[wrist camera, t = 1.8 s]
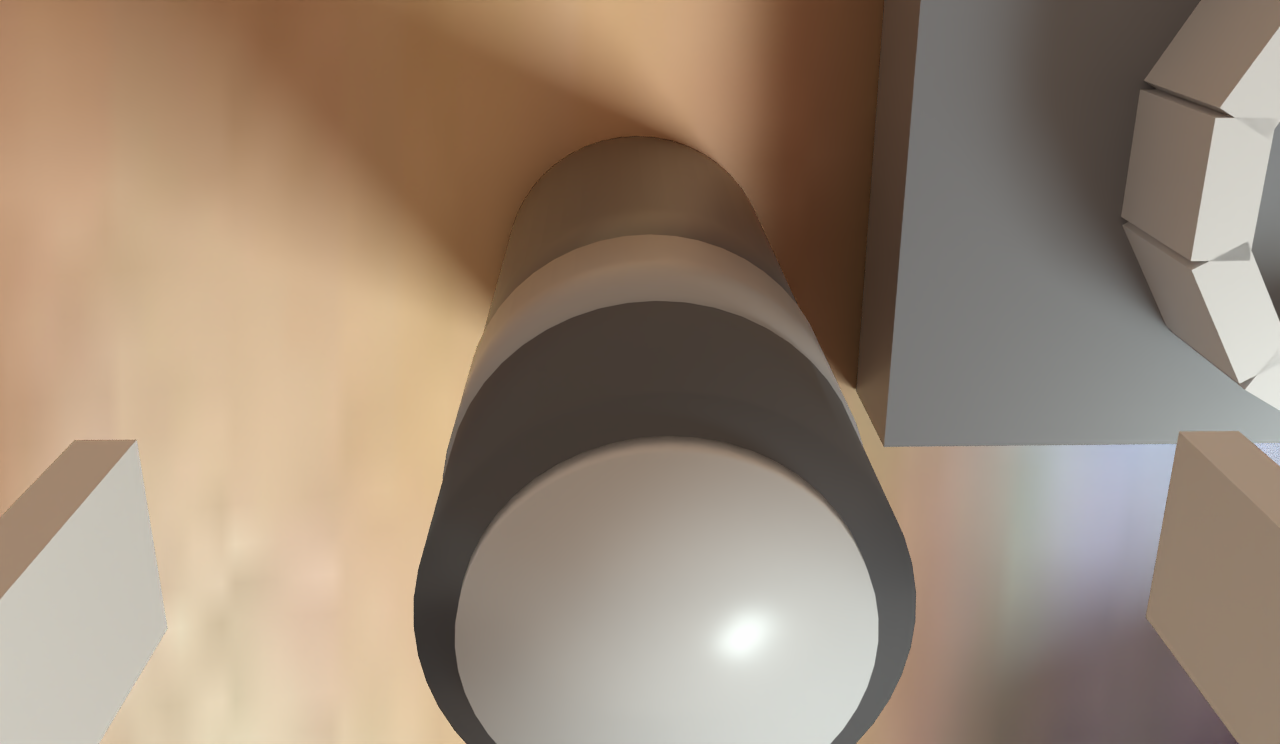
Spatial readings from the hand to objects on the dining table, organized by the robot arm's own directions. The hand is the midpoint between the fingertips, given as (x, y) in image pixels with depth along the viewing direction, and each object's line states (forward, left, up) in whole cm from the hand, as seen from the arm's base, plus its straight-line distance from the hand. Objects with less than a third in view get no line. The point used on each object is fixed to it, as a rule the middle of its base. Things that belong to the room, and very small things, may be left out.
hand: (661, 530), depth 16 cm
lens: (0, 0, -12) cm, 12 cm away
